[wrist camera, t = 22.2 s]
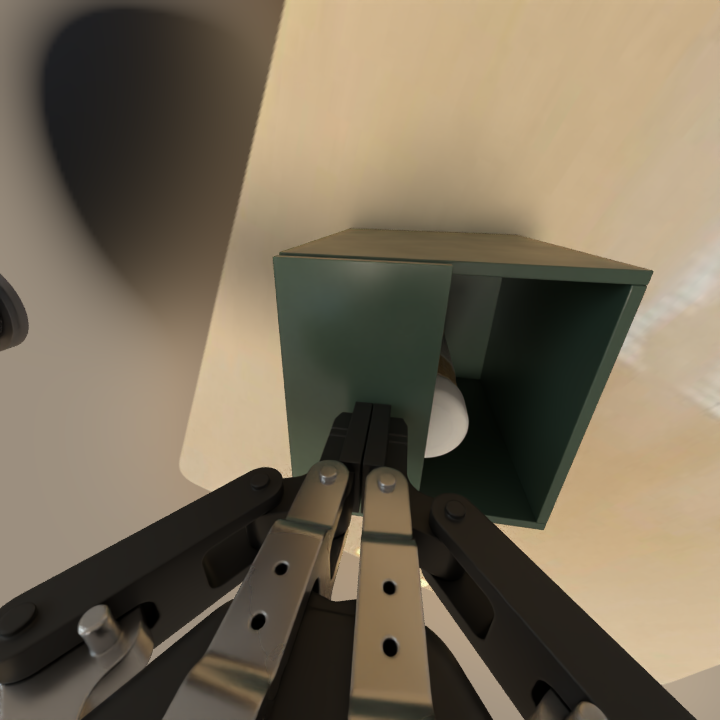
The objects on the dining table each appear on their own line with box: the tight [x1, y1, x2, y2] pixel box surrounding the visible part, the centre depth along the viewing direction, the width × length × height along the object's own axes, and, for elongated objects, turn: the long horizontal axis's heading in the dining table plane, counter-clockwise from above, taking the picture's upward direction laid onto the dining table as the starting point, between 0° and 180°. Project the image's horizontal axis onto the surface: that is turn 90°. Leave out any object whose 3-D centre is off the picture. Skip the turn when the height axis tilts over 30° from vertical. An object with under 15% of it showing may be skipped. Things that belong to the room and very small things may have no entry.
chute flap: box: [273, 255, 453, 517], centre depth 14 cm, size 6×13×1 cm, turn 179°
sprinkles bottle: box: [424, 331, 469, 458], centre depth 22 cm, size 5×5×13 cm
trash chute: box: [279, 228, 653, 530], centre depth 21 cm, size 13×13×16 cm
